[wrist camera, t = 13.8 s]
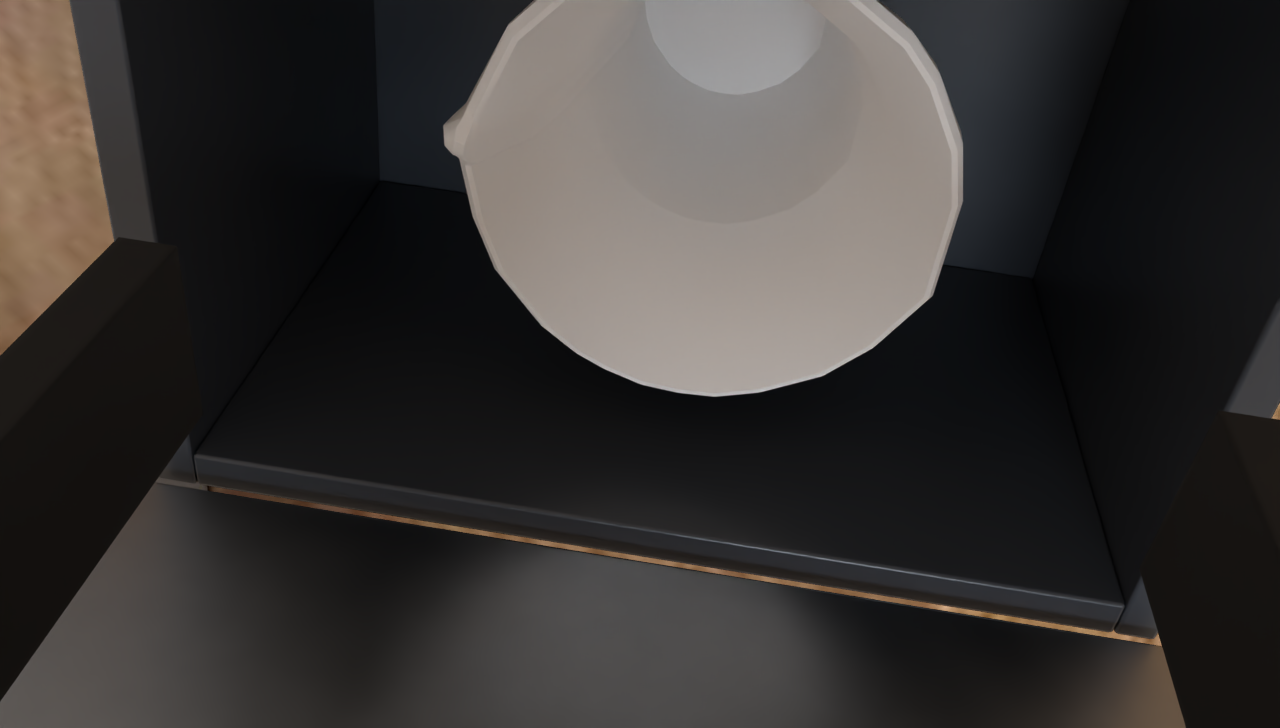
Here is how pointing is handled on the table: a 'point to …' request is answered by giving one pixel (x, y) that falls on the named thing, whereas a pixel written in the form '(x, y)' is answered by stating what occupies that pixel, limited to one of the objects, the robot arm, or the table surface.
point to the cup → (713, 182)
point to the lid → (523, 640)
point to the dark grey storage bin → (735, 424)
